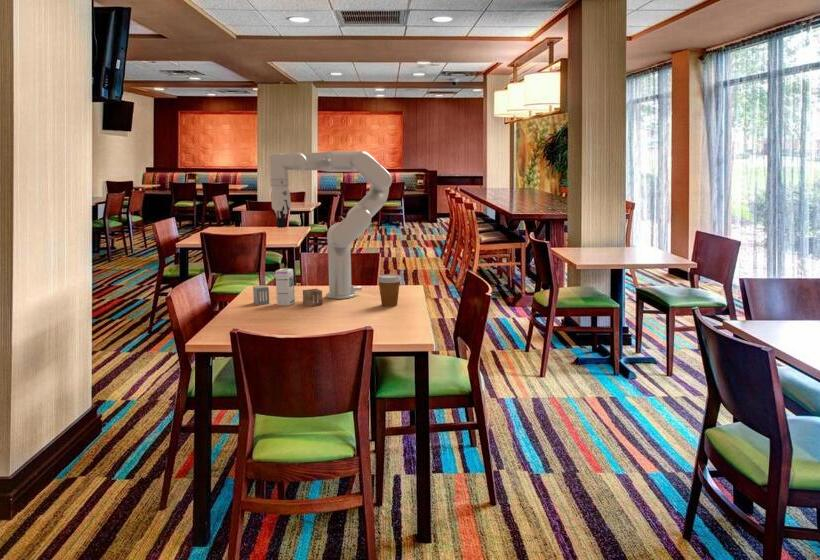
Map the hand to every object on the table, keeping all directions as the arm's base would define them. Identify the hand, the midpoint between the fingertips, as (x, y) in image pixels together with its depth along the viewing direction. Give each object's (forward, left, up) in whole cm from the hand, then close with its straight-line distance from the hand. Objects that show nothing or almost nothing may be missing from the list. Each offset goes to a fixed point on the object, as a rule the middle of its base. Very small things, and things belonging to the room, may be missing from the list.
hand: (281, 227), depth 303 cm
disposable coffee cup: (-32, +35, -31) cm, 57 cm away
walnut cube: (-6, +17, -31) cm, 36 cm away
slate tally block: (+11, +3, -31) cm, 33 cm away
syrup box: (+3, +10, -31) cm, 33 cm away
